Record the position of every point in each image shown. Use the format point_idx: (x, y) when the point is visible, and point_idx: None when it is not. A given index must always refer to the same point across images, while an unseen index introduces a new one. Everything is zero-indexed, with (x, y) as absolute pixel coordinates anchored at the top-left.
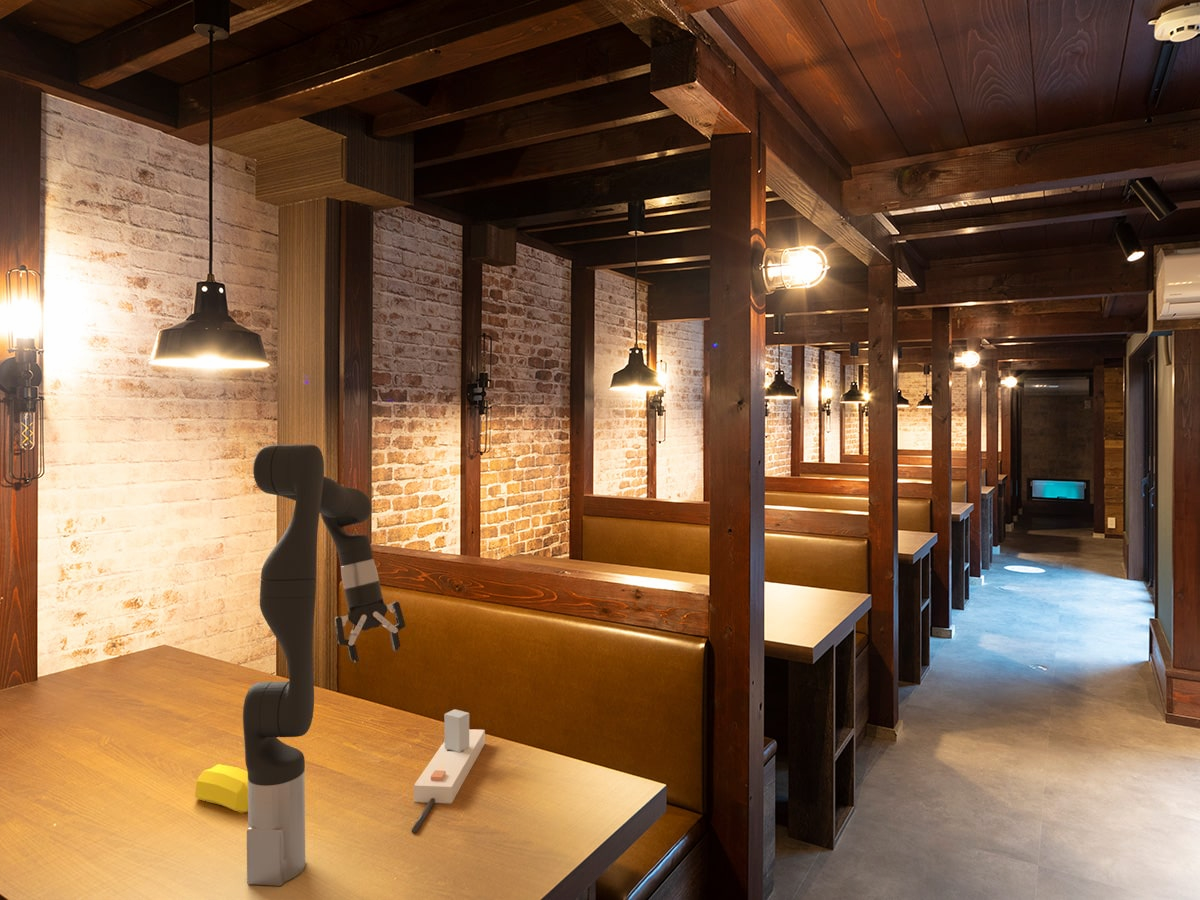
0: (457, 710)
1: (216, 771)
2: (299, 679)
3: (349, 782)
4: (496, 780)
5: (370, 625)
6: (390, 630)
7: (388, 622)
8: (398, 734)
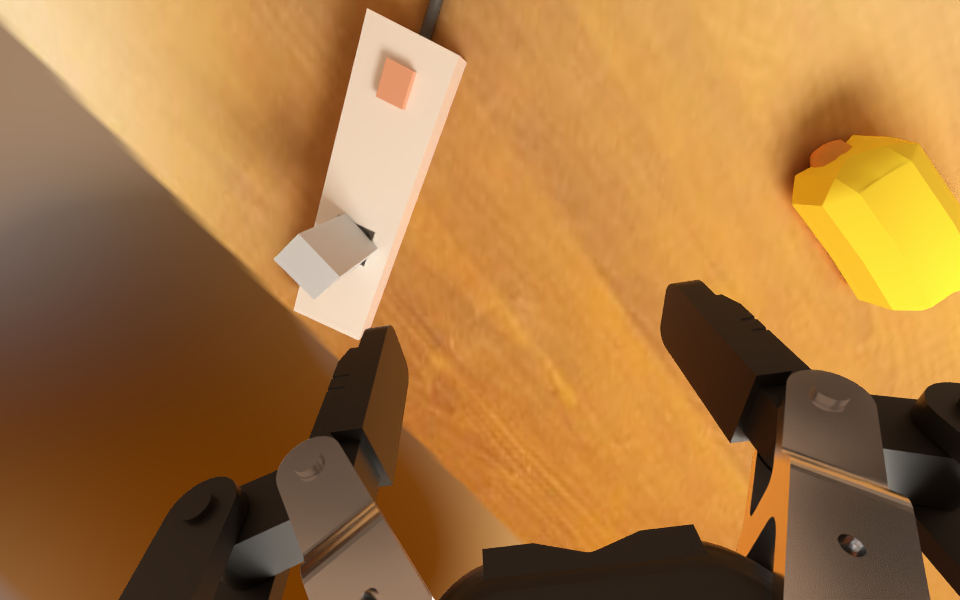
0: (305, 288)
1: (957, 259)
2: None
3: (591, 221)
4: (285, 113)
5: (612, 595)
6: (358, 475)
7: (323, 576)
8: (470, 398)
